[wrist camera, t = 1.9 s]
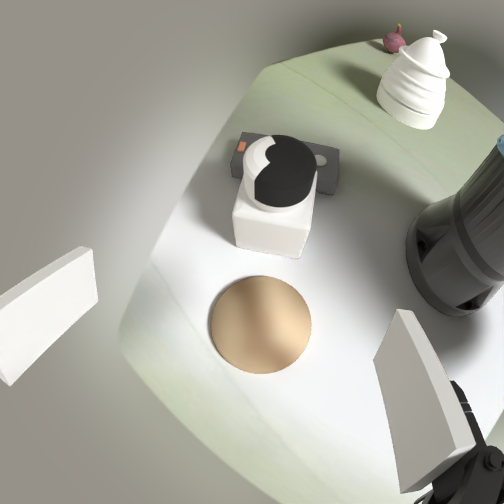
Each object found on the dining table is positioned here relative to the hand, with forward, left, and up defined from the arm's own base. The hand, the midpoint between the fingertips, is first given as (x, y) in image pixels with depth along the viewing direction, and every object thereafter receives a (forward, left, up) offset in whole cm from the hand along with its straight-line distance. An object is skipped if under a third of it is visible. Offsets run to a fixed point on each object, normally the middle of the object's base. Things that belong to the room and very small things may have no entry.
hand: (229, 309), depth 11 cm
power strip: (-17, -15, -18) cm, 29 cm away
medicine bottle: (-10, -9, -18) cm, 22 cm away
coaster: (-2, -1, -18) cm, 18 cm away
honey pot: (-48, -14, -18) cm, 53 cm away
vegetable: (-70, -31, -18) cm, 79 cm away
